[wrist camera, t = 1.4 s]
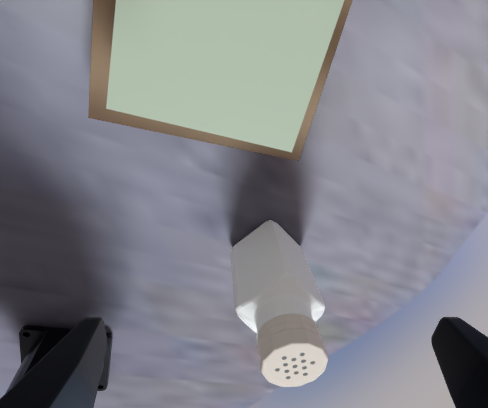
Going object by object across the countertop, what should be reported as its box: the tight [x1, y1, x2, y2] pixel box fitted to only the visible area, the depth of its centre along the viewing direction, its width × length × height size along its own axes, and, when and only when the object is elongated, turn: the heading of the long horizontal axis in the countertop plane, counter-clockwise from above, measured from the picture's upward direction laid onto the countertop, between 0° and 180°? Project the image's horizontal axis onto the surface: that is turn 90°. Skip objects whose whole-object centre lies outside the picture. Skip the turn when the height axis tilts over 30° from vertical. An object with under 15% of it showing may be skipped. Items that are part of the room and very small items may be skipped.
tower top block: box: [106, 0, 344, 152], centre depth 14 cm, size 8×8×3 cm
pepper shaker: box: [230, 220, 328, 387], centre depth 20 cm, size 4×4×10 cm
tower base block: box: [88, 0, 352, 161], centre depth 17 cm, size 11×11×3 cm
